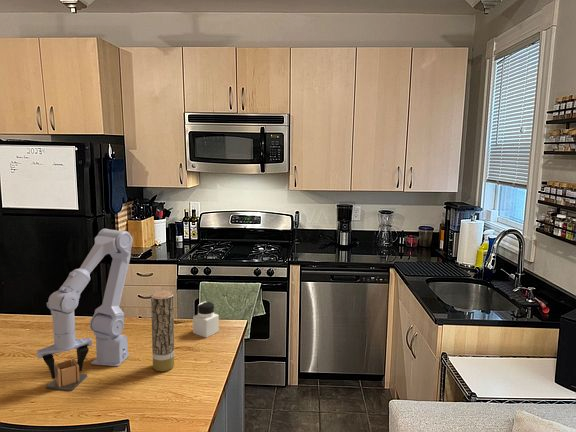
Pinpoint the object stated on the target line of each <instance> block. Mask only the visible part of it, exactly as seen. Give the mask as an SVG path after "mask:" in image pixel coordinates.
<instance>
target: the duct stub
mask: <svg viewBox="0 0 576 432" xmlns="http://www.w3.org/2000/svg"><path fill="white" fill-rule="evenodd" d="M65 368H68V367H65ZM65 368H62V369H65ZM79 378H80V381H78V382H77V380H76V382H75V383H71V384H68V385H65V386H62V378H61V387H59V386H58V384H57V383H56V381H55V379H52V380H51V381H50V382H49V383H48V384H47V385H45V389H47V390H58V391H66V392H67V391H74V390H75V389H76V388H77V387H78V386H79V385H80V384H81V383H82V382H83V381H84V380H85V379H87V378H88V373H79Z"/></svg>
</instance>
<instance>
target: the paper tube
mask: <svg viewBox="0 0 576 432" xmlns="http://www.w3.org/2000/svg"><path fill="white" fill-rule="evenodd" d="M150 295H151V296H150V298H151V299H150V305H151V341H152V342H151V344H152V345H151V346H152V347H151V348H152V351H151V352H152V368H153V370H154V371H156V372H167V371H170V370H172V369H173V368H174V366H175V318H174V317H175V316H174V314H175V313H174V312H175V310H174V308H175V307H174V292H173V291H171V290H164V289H163V290H157V291H153V292H152V293H151V294H150Z"/></svg>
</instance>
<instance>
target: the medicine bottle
mask: <svg viewBox="0 0 576 432" xmlns="http://www.w3.org/2000/svg"><path fill="white" fill-rule="evenodd" d="M214 311H215V304H214V303H213V302H210V301H202V302H200V303H199V304H198V305H197V314H195V315H193V316H192V333H193V335H194V334H195V335H197V336H199V337H203V338H209V337H211V336H212V335H214V334H217V333H218V332H219V331H220V329H219V327H220V325H219V324H220V320H219V317H220V316H219V314H217V313H215V312H214Z"/></svg>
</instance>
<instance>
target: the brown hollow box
mask: <svg viewBox="0 0 576 432" xmlns="http://www.w3.org/2000/svg"><path fill="white" fill-rule="evenodd" d="M65 367H68V368H65ZM62 368H65V369H62ZM54 370H55V381H56V383H57V384H58V386H59V387H61V378H62V386H65V385H68V384H71V383H75V382H76V380H77V382H78V381H80V378H79V374H80V372H79V365H78V363H77V361H76V359H75V358H71V359H67V360H63V361H59V362H56V363H55V362H54Z"/></svg>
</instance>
